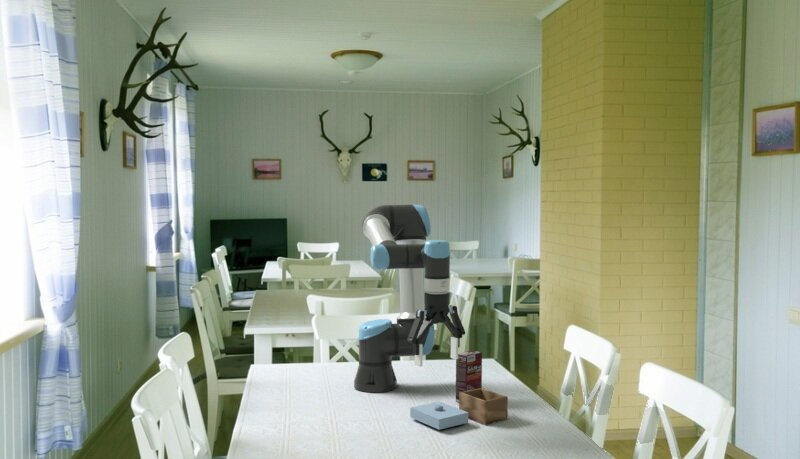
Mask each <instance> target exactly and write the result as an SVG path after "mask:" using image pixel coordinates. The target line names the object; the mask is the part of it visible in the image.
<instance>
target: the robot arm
mask: <svg viewBox="0 0 800 459" xmlns="http://www.w3.org/2000/svg"><path fill="white" fill-rule="evenodd" d="M361 228H362V232H363V235H364V236H365V237H366V238H367V239H369V241H370V242H369V243H370V244H371V248H370V263H371V268H372V269H374V270H383V271H385V270H398V272H399V274H398V275H399V301H400V302H399V303H400V306H399V308H400V314H399V315H398V316H397V317H396V323H393V321H392V320H391V319H388V318H386V319H382V318H380V319H373V320H369V321H366V322H363V323H361V325H360V326H358V337H357V340H358V367H357V371H356V374H355V377H354V380H353V387H354V390H357V391H360V392H364V393H385V392H389V391H393V390H395V389H397V387H398V380H397V377H396V374H395V371H394V367H393V361H392V360H393V359H392V358H396V357H398V358H399V357H401V358H402V357H414V365H415V366H417V367H423V356H427V355H429V354H430V353H431V352H432V350H433V348H434V343H435V337H436V336H435V334H436V333H435V325H434V324H436V325H437V324H442V323H443V324H444V326H445V327H446V328H447V329H448V330H449V333H451V335H452V336H450V358H451V359H452V360H453V359H454V360H455V361H456V360H457V359H458V354H459V348H460V347H461V345H460V344H461V339H462V338H463V336H465V335H466V331H465V328H464V326H463V323H462V321H461V318H460V315H459V313H458V312H459V311H458V307H457V306H455V305H452V304H451V303H450V302H451V301H450V300H451V299H450V293H449V292H450V287H451V286H450V280H451V279H450V277H451V276H450V269H451V268H450V267H451V266H450V264H451V262H450V259H451V258H450V257H451V250H450V242H449V241H448V240H445V239H428V240H427V238H428V237H430V235H431V220H430V215H429V212H428V210H427V208H426V207H425V205H421V204H382V205H379V206H376V207H374V208H372V209H371V210H369V211H368V212H367V213H366V214H365V216H364V217H363V219H362V222H361ZM448 315H450V317H449V316H448Z"/></svg>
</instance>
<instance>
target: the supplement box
mask: <svg viewBox="0 0 800 459" xmlns="http://www.w3.org/2000/svg"><path fill="white" fill-rule="evenodd" d="M482 372H483V352H482V351H480V350H479V351H478V350H473V349H471V350H469V351H465V352H464V351H463V352H460V353H458V359H457V360H456V359H455V402H457V403H459V393H460V392H465V391H469V390H474V389H479V388H483V384H482V382H483V373H482Z"/></svg>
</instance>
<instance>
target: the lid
mask: <svg viewBox="0 0 800 459" xmlns="http://www.w3.org/2000/svg"><path fill="white" fill-rule="evenodd" d="M409 409H410V411H409V412H410V414H409V415H410V418H411V419H414V420H415V421H418V422H421V423H422V424H425V425H427V426H430V427H432V428H434V429H436V430H438V431H439V430H445V429H448V428H452V427H456V426H460V425H464V424H468V423H469V419H468V412H466V411H463V410H461V409H459V407H458V408H457V407H456V406H453V405H450V404H447V403H444V402H442V401H440V400H438V401H435V402H430V403H425V404H419V405H415V406H411V407H410V408H409Z"/></svg>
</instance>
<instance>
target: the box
mask: <svg viewBox="0 0 800 459" xmlns="http://www.w3.org/2000/svg"><path fill="white" fill-rule="evenodd" d="M508 398H509V397H508V396H507V395H504V394H500V393H499V392H498V393H497V392H495V391H493V390H492V391H491V390H488V389H485V388H484V387H482V388H479V389H474V390H469V391H465V392H460V393H459V402H458V406H459V407H458V409H461V410H463V411H466V412H468V420H470V421H473V422H476V423H479V424H481V425H484V426H489V425H492V424H495V423H500V422H504V421H508V419H509V416H508V415H509V414H508V409H509V406H508V404H509V403H508V402H509V400H508Z"/></svg>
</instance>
